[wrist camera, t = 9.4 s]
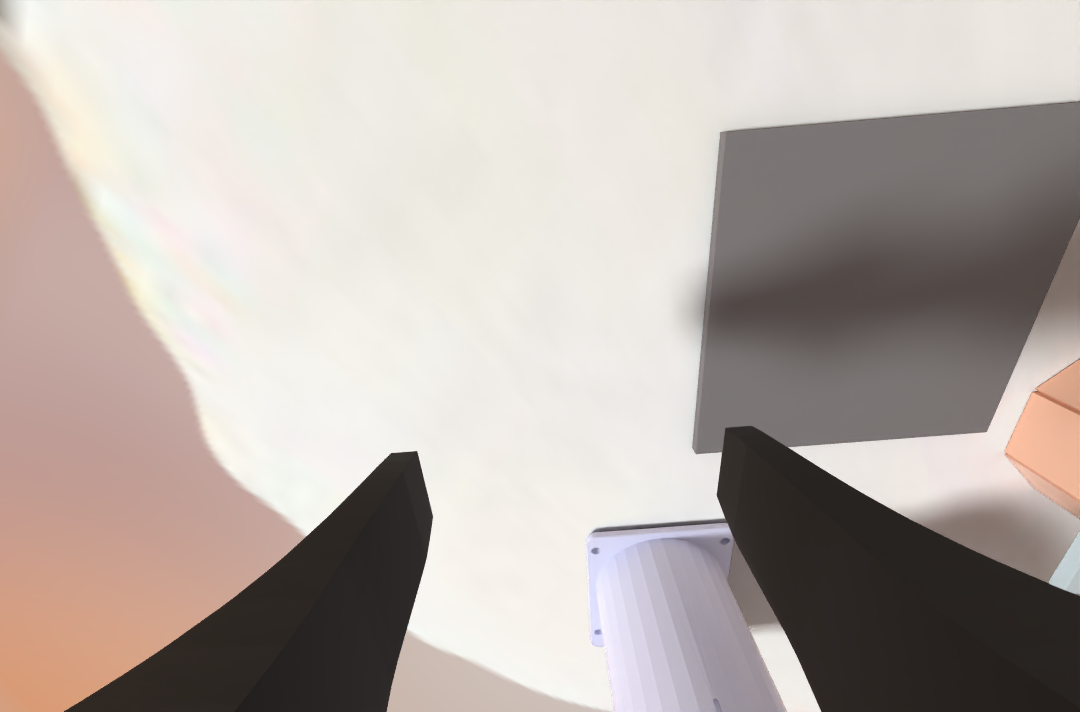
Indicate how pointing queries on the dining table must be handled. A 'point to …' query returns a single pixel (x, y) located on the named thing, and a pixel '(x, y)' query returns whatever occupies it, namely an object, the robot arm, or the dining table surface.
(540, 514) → the dining table surface
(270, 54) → the dining table surface
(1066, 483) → the bowl
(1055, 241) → the mat
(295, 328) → the dining table surface
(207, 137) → the dining table surface
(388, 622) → the robot arm
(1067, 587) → the cover
